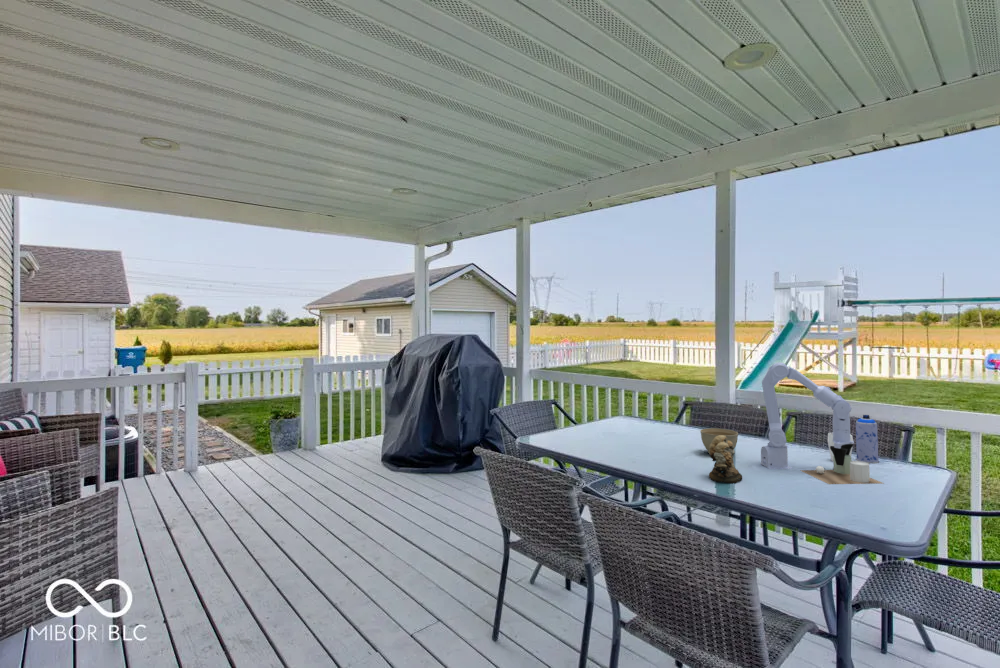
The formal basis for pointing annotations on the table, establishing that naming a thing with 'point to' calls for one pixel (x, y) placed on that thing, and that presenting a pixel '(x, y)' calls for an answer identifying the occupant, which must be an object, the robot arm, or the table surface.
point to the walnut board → (836, 477)
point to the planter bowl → (711, 433)
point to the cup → (830, 443)
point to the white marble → (820, 469)
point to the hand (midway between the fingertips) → (842, 463)
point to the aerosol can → (867, 440)
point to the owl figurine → (723, 461)
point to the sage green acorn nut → (846, 466)
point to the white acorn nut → (859, 471)
